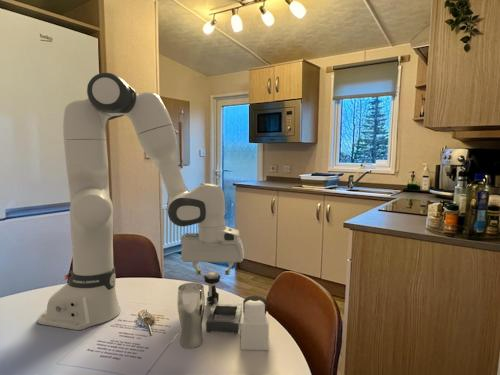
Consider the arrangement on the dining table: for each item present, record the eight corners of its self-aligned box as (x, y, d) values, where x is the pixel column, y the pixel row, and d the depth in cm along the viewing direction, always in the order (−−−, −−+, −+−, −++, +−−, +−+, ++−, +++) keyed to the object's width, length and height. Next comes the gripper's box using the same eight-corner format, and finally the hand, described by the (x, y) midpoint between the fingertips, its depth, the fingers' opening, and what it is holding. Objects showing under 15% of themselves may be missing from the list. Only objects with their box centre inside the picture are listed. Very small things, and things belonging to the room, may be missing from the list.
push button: (214, 309, 107) (214, 279, 106) (199, 306, 109) (199, 276, 108) (222, 300, 113) (223, 272, 112) (208, 298, 115) (208, 270, 114)
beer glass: (192, 353, 84) (192, 295, 82) (172, 344, 87) (171, 288, 86) (210, 340, 90) (210, 285, 88) (190, 332, 93) (190, 280, 92)
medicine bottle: (241, 335, 92) (241, 292, 91) (267, 335, 92) (268, 293, 91) (240, 350, 85) (240, 304, 84) (268, 351, 85) (269, 305, 84)
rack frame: (206, 332, 93) (206, 322, 93) (213, 312, 105) (213, 303, 105) (238, 333, 93) (238, 323, 93) (241, 313, 105) (241, 304, 104)
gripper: (177, 235, 106) (179, 278, 108) (242, 235, 105) (243, 278, 107) (182, 230, 113) (184, 270, 114) (243, 230, 111) (244, 271, 113)
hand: (213, 274), depth 110 cm, fingers open, 8 cm apart
